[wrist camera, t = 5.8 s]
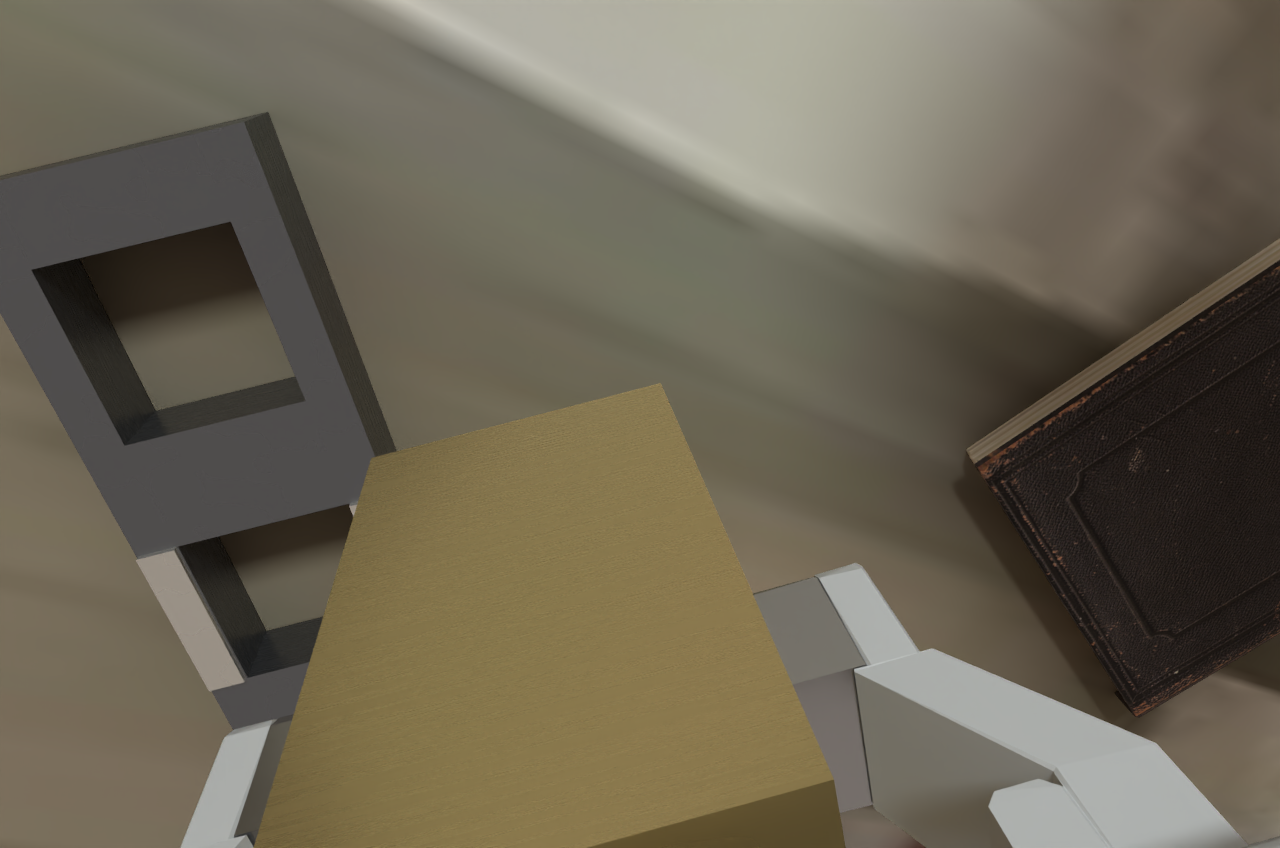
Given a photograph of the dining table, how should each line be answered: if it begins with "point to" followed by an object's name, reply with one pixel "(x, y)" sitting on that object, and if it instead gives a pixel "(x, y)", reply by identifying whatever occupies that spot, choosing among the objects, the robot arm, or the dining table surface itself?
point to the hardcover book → (1160, 488)
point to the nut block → (547, 657)
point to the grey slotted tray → (206, 429)
